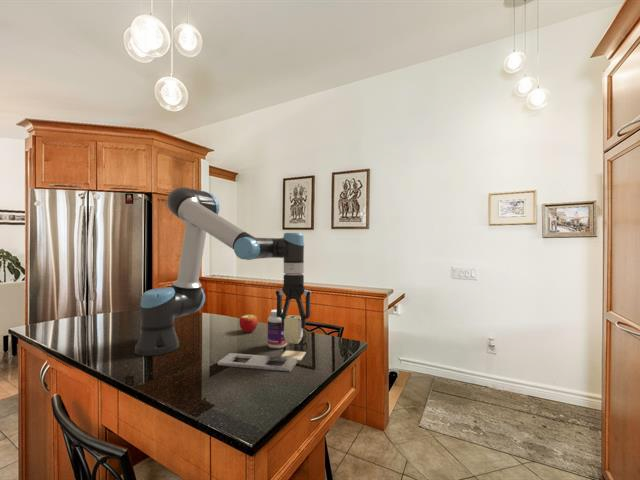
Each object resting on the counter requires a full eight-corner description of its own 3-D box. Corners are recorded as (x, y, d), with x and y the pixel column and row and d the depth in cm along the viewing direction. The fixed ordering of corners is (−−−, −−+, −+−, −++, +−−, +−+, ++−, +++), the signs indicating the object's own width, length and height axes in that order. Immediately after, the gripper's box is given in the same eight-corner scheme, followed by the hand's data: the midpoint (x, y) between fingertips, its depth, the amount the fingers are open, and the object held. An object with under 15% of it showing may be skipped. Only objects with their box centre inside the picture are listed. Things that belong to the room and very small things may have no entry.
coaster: (279, 359, 111) (279, 358, 111) (285, 351, 119) (285, 350, 119) (300, 360, 110) (300, 359, 110) (305, 353, 117) (305, 351, 117)
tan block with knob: (288, 338, 117) (288, 315, 117) (301, 339, 116) (301, 315, 116) (284, 342, 112) (284, 318, 112) (298, 343, 111) (298, 318, 111)
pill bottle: (283, 350, 120) (284, 313, 121) (264, 348, 122) (264, 312, 122) (289, 343, 128) (290, 309, 129) (271, 342, 130) (272, 308, 130)
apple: (261, 330, 147) (261, 309, 147) (248, 335, 139) (248, 313, 139) (248, 328, 151) (248, 307, 151) (235, 332, 144) (235, 310, 144)
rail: (217, 365, 105) (217, 362, 105) (230, 355, 114) (230, 352, 114) (290, 371, 100) (290, 368, 100) (297, 361, 109) (297, 358, 109)
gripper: (267, 274, 112) (266, 338, 112) (315, 275, 109) (315, 341, 109) (273, 272, 120) (273, 332, 120) (319, 273, 116) (319, 335, 116)
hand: (293, 336), depth 114 cm, fingers closed on tan block with knob, 5 cm apart
